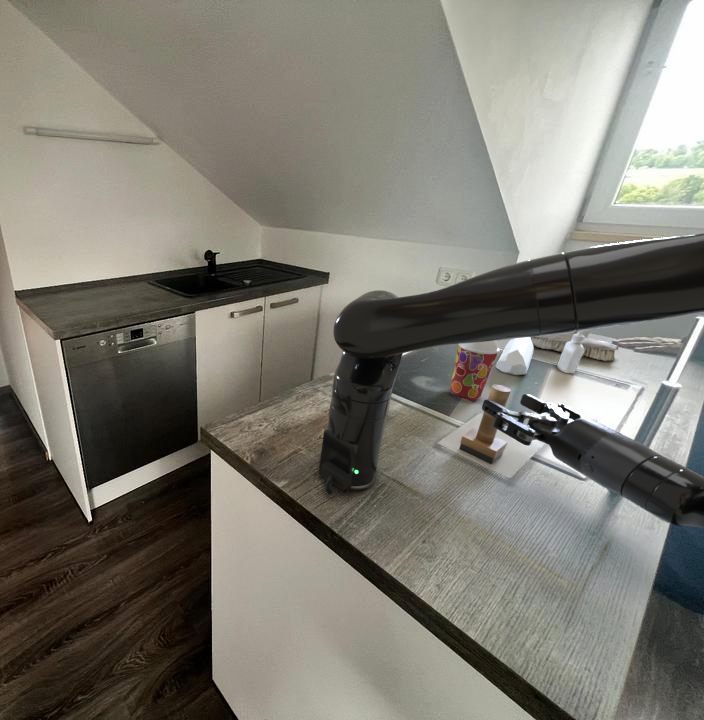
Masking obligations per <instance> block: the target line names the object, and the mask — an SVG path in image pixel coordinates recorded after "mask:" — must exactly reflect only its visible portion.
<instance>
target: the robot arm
mask: <svg viewBox="0 0 704 720" xmlns="http://www.w3.org/2000/svg"><path fill="white" fill-rule="evenodd" d="M699 313H704V233H695V234H689V235H688V234H687V235H682V236H680V235H679V236H670V237H663V238H662V237H661V238H653V239H642V240H641V239H640V240H633V241H625V242H619V243H618V242H617V243H610V244H604V245H597V246H591V247H590V246H589V247H585V248H578V249H573V250H569V251H565V252H559V253H555V254H550V255H546V256H541V257H535V258H531V259H526V260H523V261H519V262H515V263H513V264H509V265H505V266H501V267H499V268H495V269H493V270H490V271H487V272H484V273H481V274H479V275H476V276H473V277H470V278H467V279H464V280H462V281H460V282H457V283H455V284H452V285H449V286H447V287H442V288H439V289H436V290H432V291H429V292H425V293H419V294H412V295H406V296H405V295H404V296H400V297H399V296H398V295H397V294H395V293H393V292H392V291H388V290H381V289H377V290H371V291H367V292H364V293H363V294H361V295H360V296H358V297H357V298H355V299H354V300H352V301H350V302H349V303H348V304H347V305H346V306H345V307H343V309H341V311H340V312H339V314H338V316H337V317H336V319H335V321H334V325H333V329H332V330H333V331H332V333H333V338H334V339H333V340H334V341H335V344H336V345H337V347H338V348H339V349H340V350H341V351H342V353H341V358H340V360H339V362H338V365H337V367H336V369H335V372H334V375H333V382H332V391H331V398H330V404H329V411H328V417H327V418H328V419H327V427H326V429H324V430H323V436H322V442H321V450H320V458H319V465H318V475H319V476H321V477H322V478H324V479H326V481H325V485H324V488H325V491H326V492H327V494H328V495H332V494H333V493H334V491H333V489H332V488H331V486H332V484H333V486H335V487H337V488H338V489H339V490H341V491H343V492H344V493H348V492H349V491H363V490H367V489H369V488H371V487H372V486H373V485H374V483H375V481H376V477H377V476H376V475H377V474H376V473H377V468H378V463H379V458H380V454H381V448H382V444H383V440H384V439H383V438H384V434H385V428H386V424H387V419H388V415H389V414H388V413H389V409H390V404H391V400H392V395H393V389H394V387H395V384H396V380H397V378H398V376H399V371H400V367H401V363H402V359H403V354H405V353H410V352H414V351H420V350H424V349H430V348H436V347H441V346H448V345H459V344H463V343H476V342H487V341H504V340H512V339H514V338H525V337H537V336H547V335H555V334H564V333H572V332H575V331H576V332H580V331H587V330H591V331H593V330H599V329H607V328H612V327H620V326H626V325H627V326H628V325H633V324H639V323H646V322H652V321H657V320H658V321H659V320H665V319H669V318H675V317H681V316H686V315H693V314H699ZM519 404H520V405H521V406H522V407H524V408H527V409H528V410H529V411H532V412H528V411H524V410H522V411H520V412H517V411H514V410H510V409H507V407H505V408H504V407H503V406H501V405H499V404H497V403H496V402H494V401H492V400H490V399H484V400H483V402H482V405H481V409H482V411H483V412H484V411H485V412H486V413H488V414H489V415H491V416H493V417H494V418H495V421H494V423H493V427H494V428H496V429H498V430H500V431H501V432H503V433H505V434H506V435H508V436H510V437H512V438H513V439H515V440H517V441H518V442H520V443H522V444H524V445H527V446H529V445H530V444H531V441H532V440H538V441H541V442H544V443H545V445H548V446H549V447H550V449H551V452H552V455H553V457H554V458H555V459H557V460H558V461H560V462H561V463H563V464H565V465H567V466H568V467H570V468H571V469H573V470H575V471H576V472H577V473H580V474H581V475H583V476H585V477H586V478H588V479H589V480H591V481H593V482H594V483H596V484H598V485H599V486H601V487H603V488H604V489H607V490H609V491H610V492H613V493H614V494H617V495H619V496H620V497H623V498H624V499H626V500H627V501H629V502H631V503H633V504H634V505H636V506H637V507H639V508H641V509H642V510H644V511H646V512H647V513H649V514H651V515H652V516H654V517H656V518H657V519H659V520H661V521H663V522H665V523H667V524H670V525H672V526H675V527H676V526H677V527H691V528H693V527H694V528H701V529H704V476H703V475H702V474H699V473H698V472H696V471H694V470H692V469H690V468H688V467H686V466H684V465H682V464H681V463H677V462H676V461H674V460H671V459H670V458H669V457H666V456H664V455H662V454H660V453H658V452H656V451H655V450H653V449H651V448H650V447H648V446H646V445H645V444H643V443H641V442H639V441H637V440H635V439H633V438H631V437H629V436H627V435H625V434H622V433H620V432H618V431H617V430H614V429H613V428H610V427H608V426H606V425H604V424H602V423H600V422H598V419H596V418H593V417H591V416H590V415H588V414H585V413H584V412H582V411H580V410H577V409H576V408H574V407H572V406H570V405H568V404H566V403H564V402H559V403H558V404H555V403H553V402H546V401H544V400H541V399H540V398H538V397H535V396H534V395H532V394H530V393H524V394H522V396H521V398H520V402H519ZM533 412H534V413H533ZM566 412H567V413H569V415H568V414H566ZM527 419H528V421H527V424H524V422H525V420H527ZM503 425H504V426H503ZM505 426H507V427H505Z"/></svg>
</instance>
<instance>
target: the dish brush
mask: <svg viewBox="0 0 704 720" xmlns="http://www.w3.org/2000/svg"><path fill="white" fill-rule="evenodd" d="M511 391H512V390H511V388H509V386H508V387H507V386H505V385H502V384H493V385H492V386H491V388H490V392H489V395H488V399H490V400H492V401H494V402H496V403H497V404H499V405H501V406H503V407H504V408H506V406H507V403H508V400H509V398H510V394H511ZM494 421H495V418H494V417H493V416H491V415H489V414H488V413H486V412H485V411H483V417H482V420H481V423H480V426H479V429H475V428H473V429H472V430H470V431H469V432H468V433H466V434H465V435H463V436H462V439H461V442H460V443H461V445H460V448H459V449H460V450H462V451H465V452H467V453H469V454H471V455H473V456H475V457H477V458H479V459H481V460H484V461H486V462H488V463H490V464H492V463H494V462H495V461H496V460H497V459H498V458H499V457H500V456H501V455H502V454H503V451H504V449H505V448H506V445H507V442H506V441H503V440H501V439H499V438H496V437H495V435H496V432H497V430H498V429H496V428H494V427H493V423H494Z"/></svg>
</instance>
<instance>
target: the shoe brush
mask: <svg viewBox="0 0 704 720" xmlns="http://www.w3.org/2000/svg"><path fill="white" fill-rule="evenodd" d="M572 337H573V336H571V335H565V334H555V335H547V336H537V337H530V338H531V341H532V344H533V346H535V347H537V348H541V349H542V350H545V349H546V350H552V351H556V352H561V353H562V351H563V349H564V346H565V344H566V343H567V342H571V339H572ZM581 344H582V345H583V348H584V351H583V354H582V356H581V357H584V356H585V357H586V358H588V357H589V359H594V360H598V361H599V360H601V361H603V362H608V361H609V362H611V361H615V358H616V357H615V354H616V353H615V352H616V351H618V350H619V346H617V345H615V344H613V343H611V342H607V341H603V340H599V339H595V338H594V339H593V338H589V337H588V338H584V339H583V342H582V343H581Z"/></svg>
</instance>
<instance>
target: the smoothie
mask: <svg viewBox="0 0 704 720" xmlns="http://www.w3.org/2000/svg"><path fill="white" fill-rule="evenodd" d="M497 341H498V340H496V341H487V342H476V343H463V344H457V350H456V355H455V360H454V365H453V369H452V376H451V381H450V386H449V389H450V391H451V392H450V393H451V395H454V396H457V397H459V398H461V399H465V400H467V401H470V402H476V401H477V400H478V398H481V397H482V394H483V391H484V389H485V386H486V384H487V381H488V379H489V377H490V374H491V371H492V369H493V367H494V364H495V361H496V359H497V357H498V355H499V352H500V347H499V344H498V342H497Z"/></svg>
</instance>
